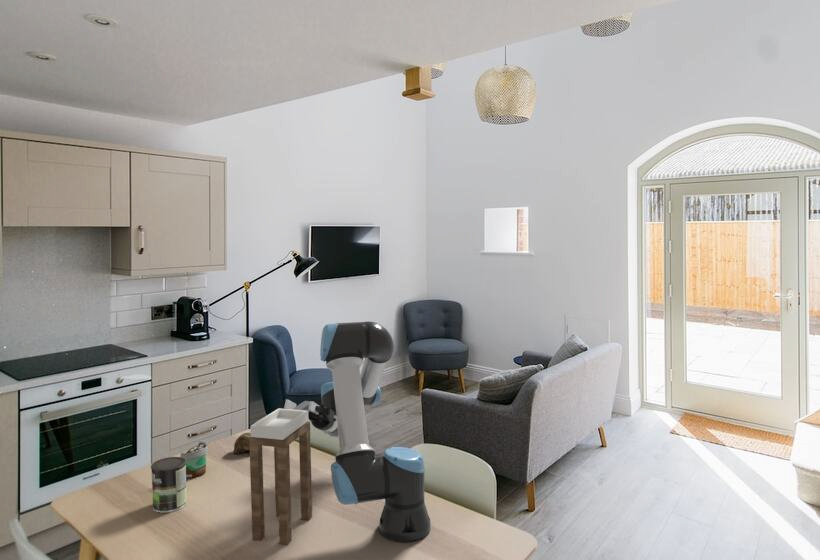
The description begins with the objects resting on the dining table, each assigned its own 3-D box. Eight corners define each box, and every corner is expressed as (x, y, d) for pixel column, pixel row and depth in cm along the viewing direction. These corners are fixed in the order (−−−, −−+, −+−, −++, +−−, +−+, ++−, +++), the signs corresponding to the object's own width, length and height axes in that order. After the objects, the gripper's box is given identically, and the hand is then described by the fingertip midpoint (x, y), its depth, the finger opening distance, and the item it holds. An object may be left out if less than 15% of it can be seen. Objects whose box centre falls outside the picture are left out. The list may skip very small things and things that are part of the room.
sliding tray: (295, 407, 176) (295, 398, 176) (323, 409, 173) (323, 400, 173) (250, 436, 150) (250, 425, 149) (283, 440, 147) (282, 428, 147)
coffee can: (160, 516, 165) (158, 472, 164) (147, 505, 172) (145, 463, 171) (193, 504, 173) (191, 462, 172) (179, 494, 180) (177, 453, 179)
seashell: (266, 448, 220) (265, 429, 219) (254, 457, 211) (254, 437, 210) (241, 446, 222) (241, 427, 222) (229, 455, 213) (228, 435, 213)
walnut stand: (279, 512, 167) (277, 418, 165) (312, 516, 165) (310, 421, 162) (252, 540, 152) (249, 437, 150) (287, 545, 149) (284, 440, 147)
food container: (196, 482, 189) (195, 454, 188) (181, 481, 190) (179, 453, 189) (215, 467, 201) (214, 441, 200) (201, 466, 202) (200, 440, 202)
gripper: (350, 433, 183) (326, 419, 163) (295, 428, 188) (265, 414, 168) (354, 411, 186) (330, 394, 166) (300, 406, 191) (271, 390, 171)
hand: (298, 404), depth 167 cm, fingers open, 8 cm apart
